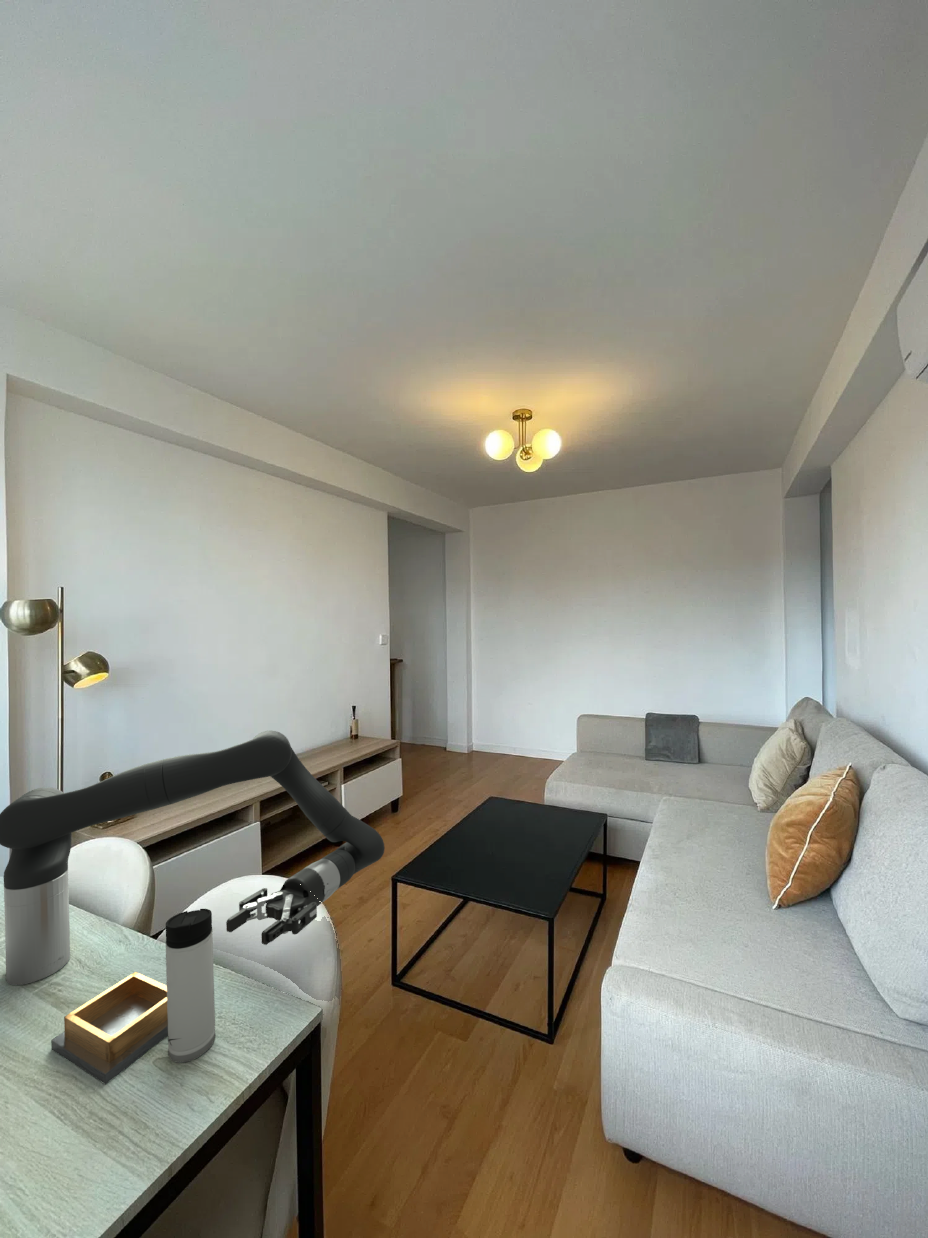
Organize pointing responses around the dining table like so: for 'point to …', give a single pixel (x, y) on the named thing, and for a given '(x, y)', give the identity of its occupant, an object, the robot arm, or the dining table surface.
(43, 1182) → the dining table surface
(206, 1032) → the travel mug
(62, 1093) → the dining table surface
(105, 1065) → the wooden tray
